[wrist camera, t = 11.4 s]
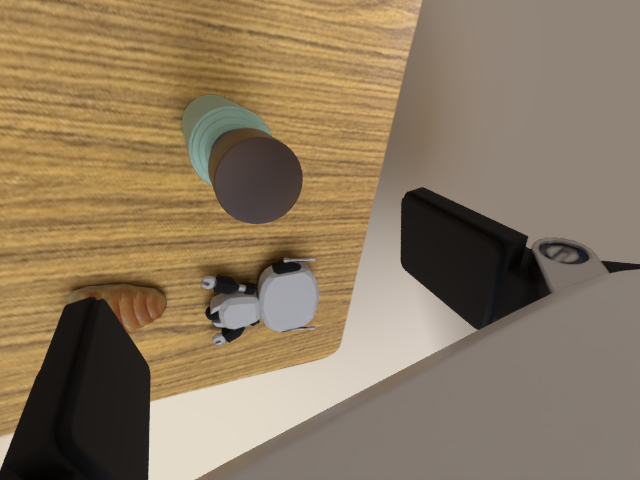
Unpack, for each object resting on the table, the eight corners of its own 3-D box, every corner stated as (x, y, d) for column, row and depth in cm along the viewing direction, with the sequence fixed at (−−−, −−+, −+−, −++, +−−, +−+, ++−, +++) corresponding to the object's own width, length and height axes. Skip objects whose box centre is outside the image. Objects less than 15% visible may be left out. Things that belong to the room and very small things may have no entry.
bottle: (167, 129, 31) (169, 172, 19) (209, 79, 31) (240, 89, 18) (220, 171, 35) (250, 229, 23) (258, 127, 35) (311, 162, 22)
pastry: (162, 272, 38) (162, 291, 35) (170, 316, 41) (170, 337, 38) (65, 286, 34) (55, 308, 31) (82, 333, 37) (75, 357, 34)
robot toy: (212, 333, 46) (311, 311, 50) (213, 358, 42) (320, 331, 46) (196, 262, 40) (311, 243, 44) (196, 282, 36) (321, 260, 40)
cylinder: (189, 173, 19) (193, 189, 16) (245, 109, 18) (257, 115, 16) (252, 219, 22) (263, 239, 19) (301, 165, 21) (319, 177, 19)
